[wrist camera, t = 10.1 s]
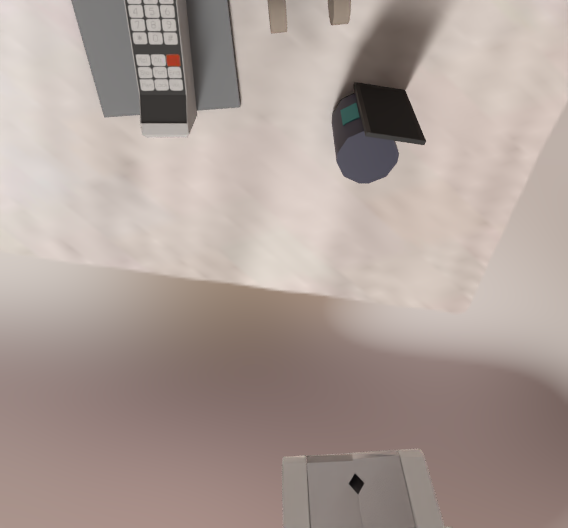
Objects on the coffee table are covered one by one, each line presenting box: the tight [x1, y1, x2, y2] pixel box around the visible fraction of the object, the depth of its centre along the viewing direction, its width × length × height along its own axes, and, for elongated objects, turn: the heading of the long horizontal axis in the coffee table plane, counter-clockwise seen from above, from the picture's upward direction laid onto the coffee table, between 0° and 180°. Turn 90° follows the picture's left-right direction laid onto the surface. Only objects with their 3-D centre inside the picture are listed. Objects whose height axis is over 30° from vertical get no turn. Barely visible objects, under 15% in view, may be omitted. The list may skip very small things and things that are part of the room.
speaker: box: [332, 82, 426, 183], centre depth 40 cm, size 6×5×9 cm
